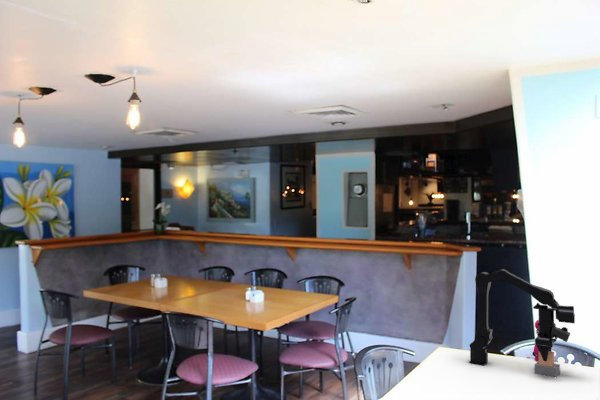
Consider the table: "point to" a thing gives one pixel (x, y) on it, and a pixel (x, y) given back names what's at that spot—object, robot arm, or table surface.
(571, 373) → the table surface
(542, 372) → the gray box
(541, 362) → the terracotta block
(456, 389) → the table surface
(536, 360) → the pepper mill
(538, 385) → the table surface
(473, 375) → the table surface
